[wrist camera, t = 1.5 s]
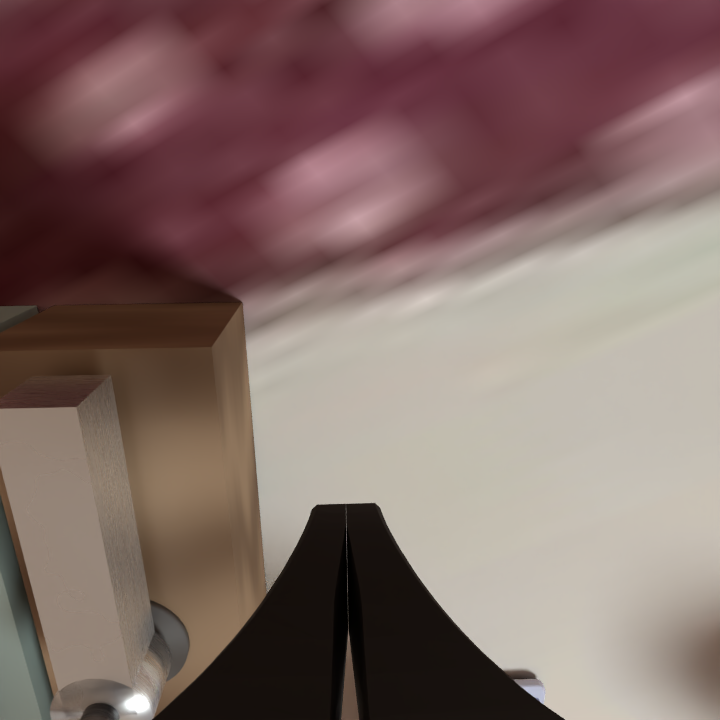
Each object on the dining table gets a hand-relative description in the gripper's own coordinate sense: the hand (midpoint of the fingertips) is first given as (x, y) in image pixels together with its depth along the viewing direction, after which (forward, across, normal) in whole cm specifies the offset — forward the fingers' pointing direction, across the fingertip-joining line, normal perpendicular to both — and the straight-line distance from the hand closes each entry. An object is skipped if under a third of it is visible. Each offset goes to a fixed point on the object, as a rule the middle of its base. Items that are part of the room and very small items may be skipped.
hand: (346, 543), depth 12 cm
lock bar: (+4, +7, +3) cm, 9 cm away
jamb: (+9, +7, +4) cm, 12 cm away
